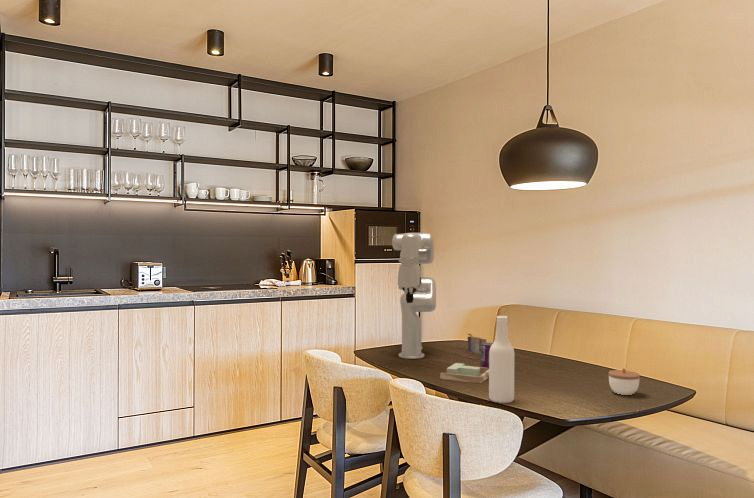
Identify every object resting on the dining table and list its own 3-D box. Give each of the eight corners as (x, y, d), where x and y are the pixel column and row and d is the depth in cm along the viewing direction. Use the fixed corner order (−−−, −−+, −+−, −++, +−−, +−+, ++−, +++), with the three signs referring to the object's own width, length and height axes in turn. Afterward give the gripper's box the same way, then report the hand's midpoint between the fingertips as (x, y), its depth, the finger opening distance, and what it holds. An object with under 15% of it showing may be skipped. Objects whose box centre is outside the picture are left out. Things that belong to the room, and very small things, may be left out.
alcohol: (491, 403, 200) (492, 318, 200) (486, 396, 209) (487, 314, 209) (516, 403, 201) (517, 318, 200) (510, 396, 209) (511, 314, 209)
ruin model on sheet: (466, 351, 297) (466, 332, 297) (471, 351, 298) (471, 332, 298) (481, 355, 287) (481, 336, 287) (486, 354, 289) (486, 335, 289)
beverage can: (496, 373, 246) (496, 345, 246) (479, 372, 248) (480, 344, 248) (496, 369, 253) (496, 342, 253) (480, 368, 255) (480, 342, 254)
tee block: (474, 381, 233) (474, 371, 233) (446, 378, 238) (446, 368, 238) (482, 375, 243) (482, 365, 243) (455, 372, 249) (455, 362, 249)
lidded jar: (646, 396, 210) (646, 371, 210) (621, 398, 207) (622, 372, 207) (625, 389, 221) (625, 365, 220) (602, 391, 218) (602, 366, 217)
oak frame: (454, 370, 252) (454, 364, 252) (492, 374, 245) (492, 368, 245) (440, 379, 236) (440, 373, 236) (481, 383, 228) (481, 377, 228)
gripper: (391, 261, 257) (391, 302, 257) (422, 262, 251) (422, 304, 251) (398, 261, 264) (397, 301, 264) (428, 261, 257) (428, 302, 258)
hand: (409, 302), depth 258 cm, fingers closed
